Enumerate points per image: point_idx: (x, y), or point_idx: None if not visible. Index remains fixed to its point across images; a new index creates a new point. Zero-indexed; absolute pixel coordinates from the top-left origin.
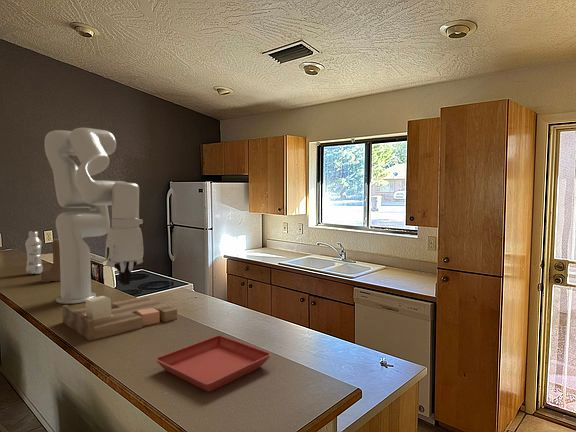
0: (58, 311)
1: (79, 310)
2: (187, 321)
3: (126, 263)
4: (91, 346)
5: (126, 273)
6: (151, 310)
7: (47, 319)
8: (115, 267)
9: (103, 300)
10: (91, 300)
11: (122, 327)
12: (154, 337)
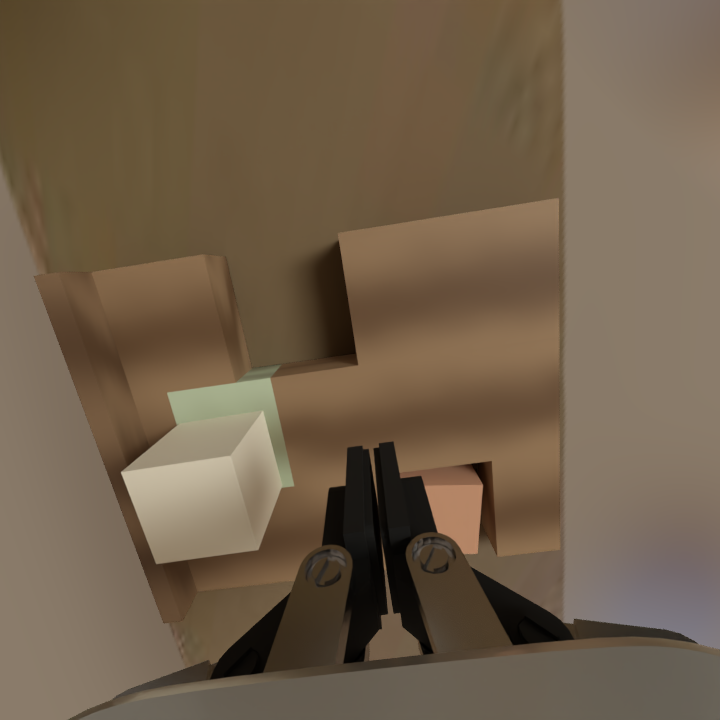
0: (76, 5)
1: (154, 293)
2: (550, 562)
3: (432, 647)
4: (201, 603)
5: (383, 609)
6: (456, 520)
7: (34, 165)
8: (259, 640)
9: (216, 555)
10: (152, 525)
11: None
12: (385, 635)
